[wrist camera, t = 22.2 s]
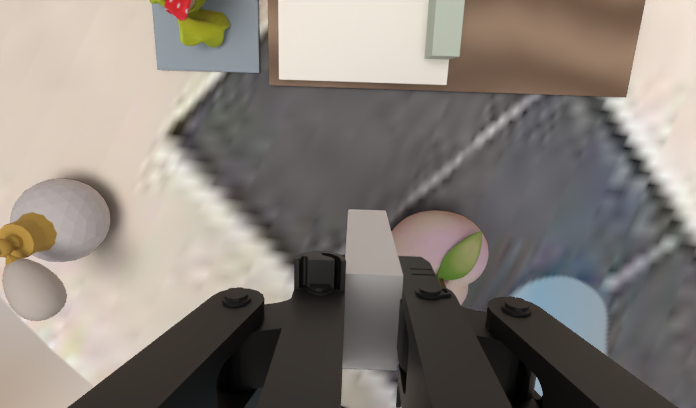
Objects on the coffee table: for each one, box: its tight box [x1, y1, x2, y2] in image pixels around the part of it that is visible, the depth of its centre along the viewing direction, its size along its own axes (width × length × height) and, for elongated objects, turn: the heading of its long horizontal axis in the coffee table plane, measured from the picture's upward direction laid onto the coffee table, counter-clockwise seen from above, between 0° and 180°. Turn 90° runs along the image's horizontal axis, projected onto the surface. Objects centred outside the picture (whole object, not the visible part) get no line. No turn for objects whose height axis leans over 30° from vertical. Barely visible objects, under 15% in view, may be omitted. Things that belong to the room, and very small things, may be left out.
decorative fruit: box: [392, 210, 489, 305], centre depth 37 cm, size 9×8×10 cm
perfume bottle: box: [0, 178, 111, 321], centre depth 37 cm, size 8×10×12 cm
